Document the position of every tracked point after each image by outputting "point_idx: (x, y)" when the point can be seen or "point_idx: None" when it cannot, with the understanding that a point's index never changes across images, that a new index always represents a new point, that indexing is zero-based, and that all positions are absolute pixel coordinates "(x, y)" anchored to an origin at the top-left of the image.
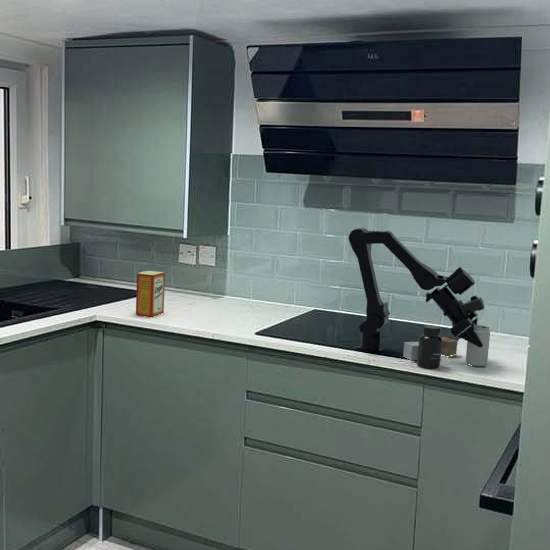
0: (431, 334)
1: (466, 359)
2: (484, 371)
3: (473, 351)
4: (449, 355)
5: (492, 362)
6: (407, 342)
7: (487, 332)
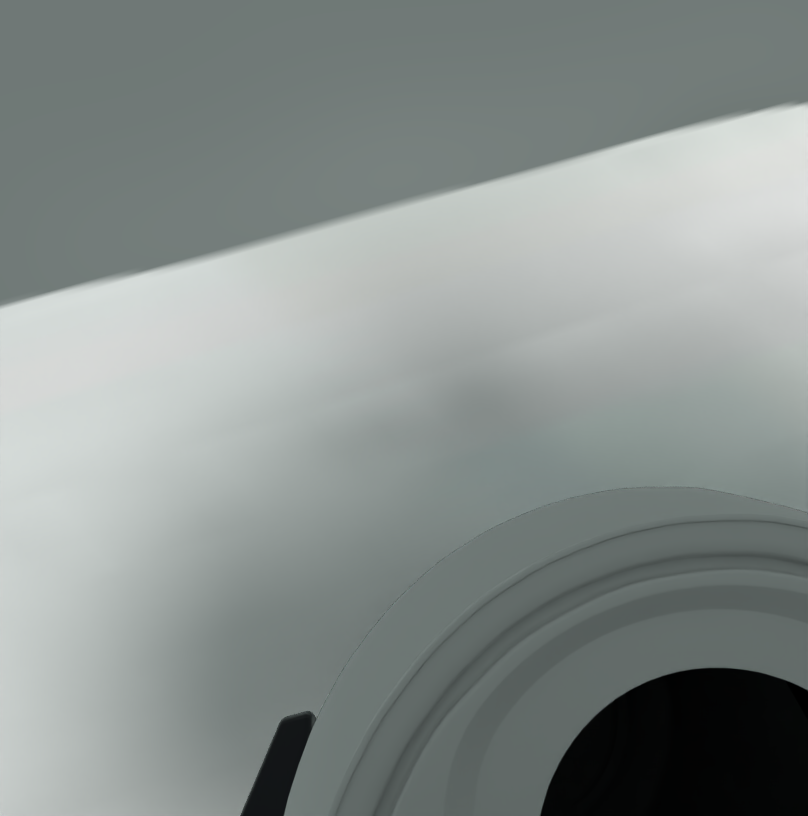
0: None
1: None
2: None
3: (764, 756)
4: None
5: (206, 581)
6: None
7: (801, 518)
